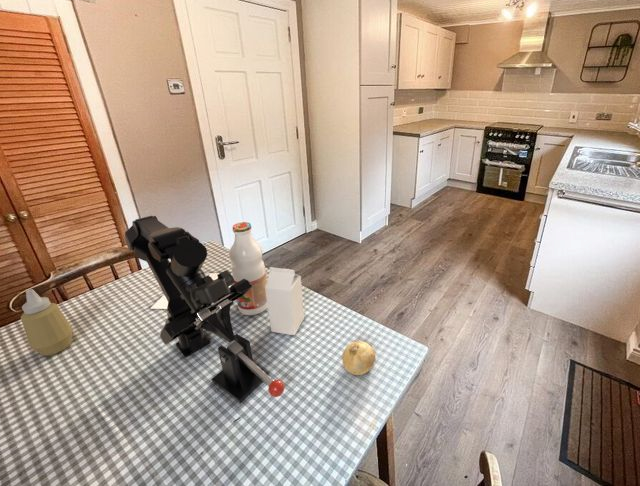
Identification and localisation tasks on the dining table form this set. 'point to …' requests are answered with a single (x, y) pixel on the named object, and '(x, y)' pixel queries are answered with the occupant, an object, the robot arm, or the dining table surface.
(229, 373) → the bracket
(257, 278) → the fruit juice
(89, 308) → the dining table surface
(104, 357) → the dining table surface
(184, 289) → the robot arm
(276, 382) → the lever
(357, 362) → the onion
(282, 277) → the milk carton
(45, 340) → the squeeze bottle
